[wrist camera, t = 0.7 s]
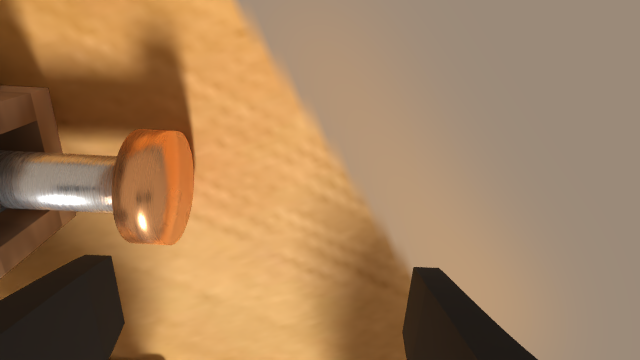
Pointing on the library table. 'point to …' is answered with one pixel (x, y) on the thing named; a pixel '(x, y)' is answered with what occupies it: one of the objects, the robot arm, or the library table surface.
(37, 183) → the shaft
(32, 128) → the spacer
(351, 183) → the library table surface
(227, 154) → the library table surface
